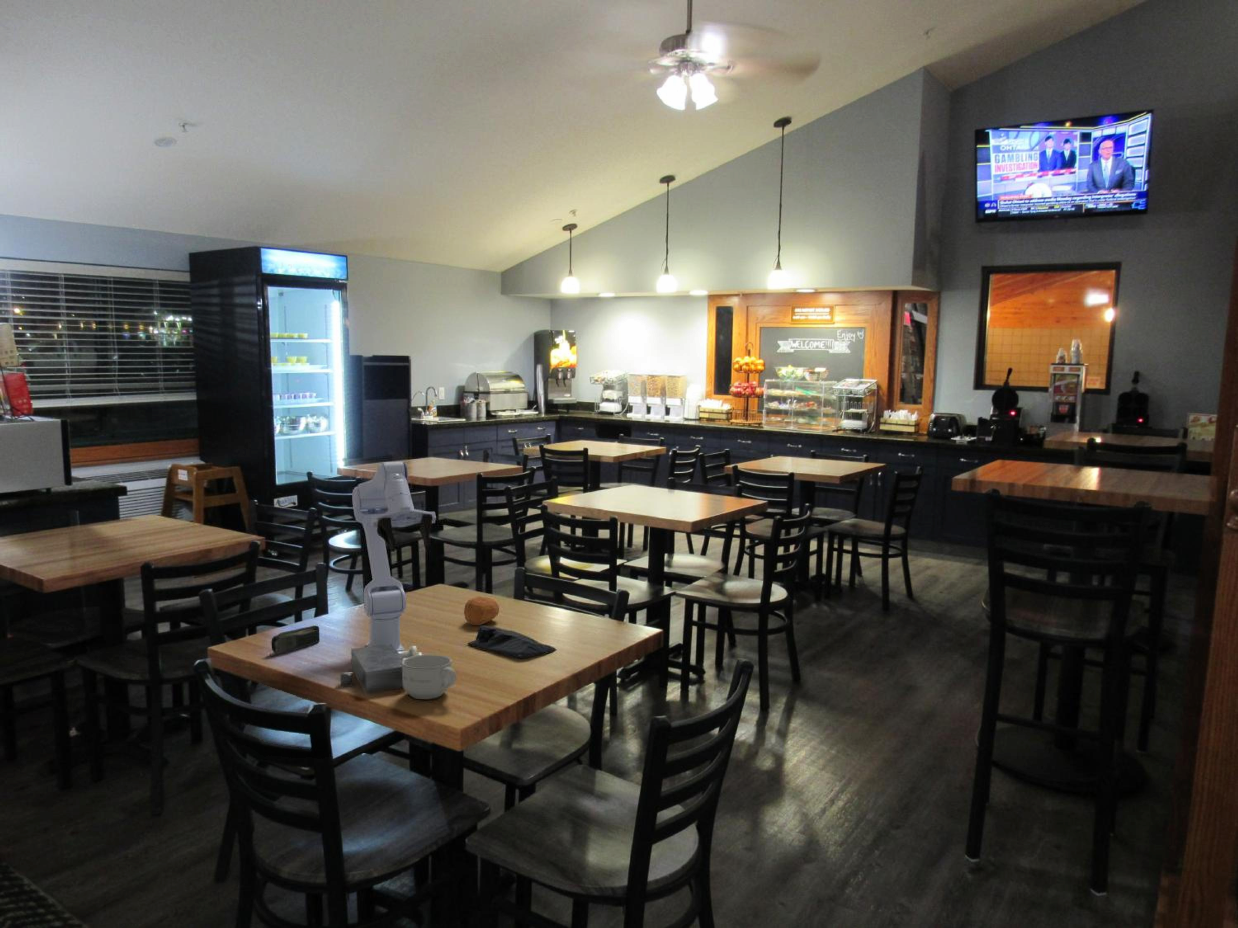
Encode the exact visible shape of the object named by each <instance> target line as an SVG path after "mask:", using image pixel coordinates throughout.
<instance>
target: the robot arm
mask: <svg viewBox="0 0 1238 928" xmlns="http://www.w3.org/2000/svg"><path fill="white" fill-rule="evenodd" d="M408 471H409V469H408V465H407V463H406V461H388V462H387V461H385V462H384V461H382V462H381V464H378V466H377V471H376V472H375V473H374V474H373V477H372V479H370V480H368V481H365V482H361V483H359V484H357V486H355V487H354V489H352V497H351V498H352V499H351V500H352V509H353V514H354V517H355V521H356V522H358V523H360V524H361V525H362V527H363V530H364V534H365V540H366V546H367V553H368V558H369V559H368V560H369V565H370V571H371V578H372V580H371V581H369V583H368V584H366V585H365V587H364V589H363V608H364V613H365V615H366V616H367V617H370V620H369V642H368V643H365V647H369V646H377V645H384V644H392V645H393V647H394V648H395V649H396V650H397V652H400V651H406V650H405V648H404V647H403V645H402V644H401V621H400V620H401V619H400V618H401V617H402V614H403V613H404V612H405V610H406V608H407V596H406V593H405V591H404V586H403V584H402V582H401V581H400V580H398V579H396V578H394V577H393V576H392V575H391V570H390V564H389V558H388V553H387V548H386V547H387V546H386V544H387V545H388V547H389V549H390V551H391V552H392V553H395V552H396V548H397V544H396V543H397V542H396V540H395V536H394V533H393V527H397V528H405V527H408V526H412V525H415V524H418V523H420V525H419V526H420V527H419V534H420V535H421V538H422V541H423V547H424V549H425V550H426V549H427V550H428V549H429V548H430V545H431V542H430V541H431V540H430V536H431V535H430V532H431V527H432V524H435V523H436V520H437V516H436V512H435V511H425V510H421V509H415V507H414V503H413V500H412V499H413V498H412V495H411V491H410V488H409V487H410V486H409V484H408V479H409V472H408Z"/></svg>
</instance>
